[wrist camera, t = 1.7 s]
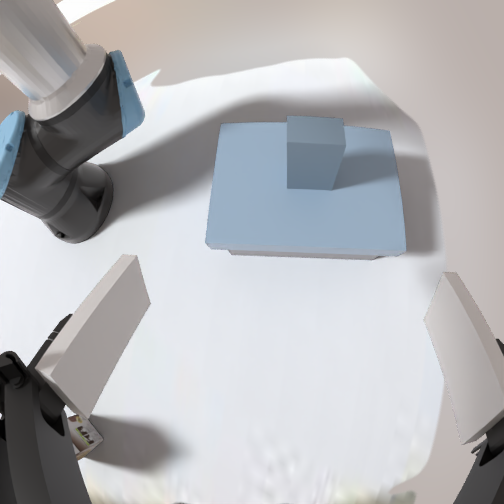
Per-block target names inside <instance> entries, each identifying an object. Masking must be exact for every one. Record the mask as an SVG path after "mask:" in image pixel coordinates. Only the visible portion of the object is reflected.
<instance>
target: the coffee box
mask: <svg viewBox="0 0 504 504" xmlns="http://www.w3.org/2000/svg"><path fill="white" fill-rule="evenodd" d="M67 421H68V425H69V430H70V434H71V439H72V443H73V447H74V451H75V454H76V458H77V461H78V460H80V459H82V458H83V457H85V456H86V455H87V454H88V453H89V452H90V451H92V450H93V449H94V448H95V447H96V446H97V445H98V444H99V443H101V442H102V441H103V440H104V439H103V438H102V436H101V435H100V434H99V433H98V432H97V430H96V429H95V428H94V427H93V425H92V424H91V423H90V421H89V420H88V419H87V418H85V417H82V416H80V415H78V414H77V415H74V416H71V417H68V418H67Z"/></svg>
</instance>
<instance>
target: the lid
mask: <svg viewBox="0 0 504 504" xmlns="http://www.w3.org/2000/svg"><path fill="white" fill-rule="evenodd" d="M205 243H206V244H207V245H208V246H209V247H210V248H211V249H220V250H247V251H273V252H300V253H326V254H352V255H377V256H399V255H400V254H402V253H404V252H405V251H406V236H405V225H404V215H403V206H402V198H401V191H400V184H399V177H398V171H397V165H396V160H395V154H394V149H393V144H392V139H391V135H390V131H387V130H380V129H372V128H363V127H354V126H344V123H343V119H341V118H328V117H311V116H287V122H248V123H222V124H221V127H220V133H219V140H218V146H217V153H216V160H215V167H214V174H213V182H212V190H211V197H210V205H209V214H208V222H207V231H206V240H205Z"/></svg>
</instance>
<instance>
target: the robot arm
mask: <svg viewBox="0 0 504 504" xmlns="http://www.w3.org/2000/svg"><path fill="white" fill-rule="evenodd" d="M0 72H1V73H2V74H3V75H4V76H5V77H6V78H7V79H8V80H10V81H11V82H12V83H13V84H14V85H15V86H16V87H17V88H18V89H20V90H21V91H22V92H23V93H24V94H25V95H26V96H28V97H29V106H28V111H29V114H28V115H25V113H24V112H21V111H19V110H17V111H14V112H12V113H11V114H9V115H8V116H7V118H6V119H5V120H4V121H3V122H2V123H1V125H0V199H1V200H3V201H5V202H7V203H9V204H11V205H13V206H15V207H17V208H19V209H21V210H23V211H25V212H27V213H29V214H31V215H33V216H36V217H38V218H39V219H41V220H42V222H43V223H44V224H45V225H46V226H47V227H48V229H49V230H50V231H51V232H52V233H53V234H54V235H55V236H56V237H57V238H59V239H61V240H63V241H65V242H68V243H79V242H82V241H84V240H86V239H88V238H89V237H90V236H92V235H93V234H94V233H95V232H96V231H97V230H98V229H99V227H100V226H101V225H102V223H103V222H104V220H105V218H106V216H107V214H108V212H109V209H110V206H111V203H112V197H113V186H112V181H111V179H110V177H109V175H108V174H107V173H106V172H105V171H104V170H103V169H102V168H100V167H99V166H98V165H96V164H93V163H89V162H86V161H88V160H89V159H91V158H92V157H93V156H95V155H96V154H98V153H99V152H101V151H103V150H104V149H106V148H107V147H109V146H110V145H112V144H114V143H115V142H117V141H118V140H120V139H122V138H124V137H125V136H126V135H127V134H128V133H130V132H131V131H133V130H134V129H135V128H137V127H138V126H140V125H141V124H142V122H143V121H144V118H145V112H144V109H143V106H142V104H141V101H140V99H139V96H138V94H137V91H136V88H135V86H134V83H133V81H132V78H131V76H130V73H129V70H128V68H127V65H126V63H125V60H124V57H123V55H122V52H121V51H120V50H117V51H114V52H110V53H109V54H107V53H106V51H105V50H104V49H103V48H102V47H101V46H100V45H98V44H86V45H84V43H83V42H82V41H81V39H80V38H79V36H78V35H77V34H76V32H75V31H74V29H73V28H72V27H71V25H70V24H69V22H68V21H67V20H66V18H65V17H64V15H63V14H62V13H61V11H60V10H59V8H58V7H57V5H56V4H55V3H54V1H53V0H0ZM150 304H151V303H150V300H149V297H148V293H147V290H146V286H145V283H144V279H143V276H142V272H141V269H140V265H139V261H138V257H137V255H124V254H123V255H122V256H121V257H120V258H119V259H118V260H117V262H116V263H115V264H114V265H113V266H112V267H111V269H110V270H109V271H108V272H107V273H106V274H105V276H104V277H103V278H102V279H101V280H100V282H99V283H98V284H97V285H96V286H95V288H94V289H93V290H92V291H91V292H90V294H89V295H88V296H87V297H86V299H85V300H84V301H83V302H82V304H81V305H80V306H79V308H78V309H77V310H76V311H75V313H74V314H69V315H68V316H66V317H65V318H64V319H63V320H61V321H60V322H59V324H58V325H57V326H56V328H55V329H54V330H53V331H54V332H52V333H51V334H50V336H49V337H48V340H46V341H45V342H44V344H43V345H42V347H41V348H40V349H39V351H38V352H37V354H36V355H35V357H34V358H33V359H32V361H31V362H30V364H29V365H28V366H27V367H26V366H25V365H24V363H23V362H22V361H21V359H20V358H19V357H18V355H17V354H16V353H15V352H13V351H6V352H4V353H2V354H1V355H0V413H1V414H2V417H1V419H0V504H92V503H91V500H90V498H89V495H88V492H87V490H86V487H85V484H84V481H83V478H82V475H81V472H80V468H79V465H78V461H77V458H76V454H75V451H74V447H73V443H72V439H71V434H70V430H69V425H68V421H67V415H66V413H65V411H64V410H63V409H64V407H65V405H67V406H68V407H69V408H70V409H71V411H72V412H74V413H76V414H78V415H80V416H82V417H85V418H87V419H89V417H90V415H91V413H92V411H93V409H94V407H95V405H96V403H97V401H98V399H99V397H100V395H101V393H102V391H103V389H104V387H105V385H106V383H107V381H108V379H109V377H110V375H111V373H112V372H113V370H114V368H115V366H116V364H117V362H118V360H119V359H120V357H121V355H122V353H123V351H124V349H125V348H126V346H127V344H128V342H129V340H130V339H131V337H132V335H133V333H134V332H135V330H136V328H137V326H138V325H139V323H140V321H141V319H142V318H143V316H144V314H145V312H146V311H147V309H148V307H149V306H150ZM423 320H424V323H425V325H426V328H427V330H428V333H429V335H430V338H431V341H432V344H433V346H434V349H435V352H436V355H437V358H438V361H439V364H440V367H441V370H442V373H443V376H444V379H445V382H446V386H447V389H448V393H449V396H450V400H451V403H452V407H453V411H454V415H455V419H456V423H457V428H458V432H459V437H460V442H461V445H464V444H467V443H470V442H473V441H476V440H477V439H479V438H480V437H481V436H483V435H484V434H485V433H486V436H487V439H485V440H484V441H483V442H482V443H480V444H479V445H478V446H476V447H475V448H474V449H473V450H472V452H471V453H474V452H476V451H477V450H479V449H480V451H479V452H478V453H477V454H476V456H477V458H476V460H475V462H474V464H473V467H472V469H471V471H470V473H469V475H468V477H467V479H466V481H465V483H464V485H463V487H462V489H461V491H460V492H459V494H458V496H457V498H456V500H455V501H454V503H453V504H504V344H503V343H502V342H501V341H500V340H499V339H495V338H494V336H493V334H492V332H491V330H490V328H489V326H488V324H487V322H486V320H485V319H484V317H483V315H482V313H481V312H480V310H479V308H478V307H477V305H476V303H475V301H474V300H473V298H472V296H471V295H470V293H469V291H468V290H467V288H466V287H465V285H464V283H463V282H462V280H461V279H460V277H459V276H458V274H457V273H453V272H452V273H451V272H443V274H442V276H441V279H440V282H439V284H438V287H437V289H436V292H435V294H434V297H433V299H432V301H431V304H430V306H429V308H428V311H427V313H426V315H425V317H424V319H423Z"/></svg>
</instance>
